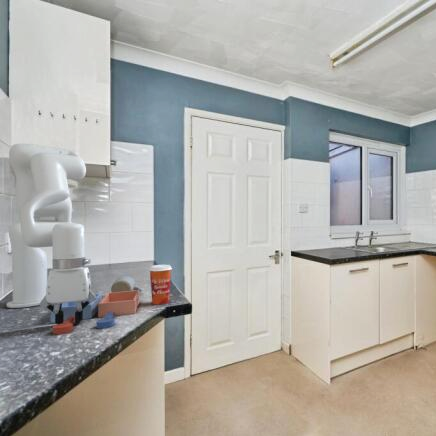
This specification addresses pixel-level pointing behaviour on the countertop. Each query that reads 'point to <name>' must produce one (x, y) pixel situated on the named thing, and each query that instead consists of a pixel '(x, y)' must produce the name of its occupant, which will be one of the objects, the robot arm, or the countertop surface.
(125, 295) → the clay bin
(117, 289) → the ceramic mug
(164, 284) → the paper cup
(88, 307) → the slate bin
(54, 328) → the clay spoon
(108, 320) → the slate spoon
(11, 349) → the countertop surface
